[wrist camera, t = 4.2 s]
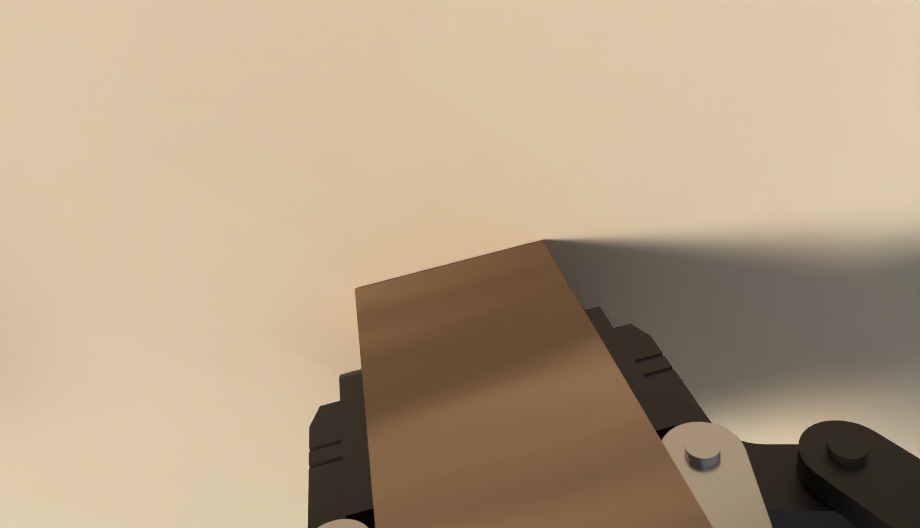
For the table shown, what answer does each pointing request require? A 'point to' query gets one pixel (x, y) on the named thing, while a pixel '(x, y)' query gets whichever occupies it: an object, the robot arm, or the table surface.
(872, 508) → the robot arm
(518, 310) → the push stick
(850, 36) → the table surface
